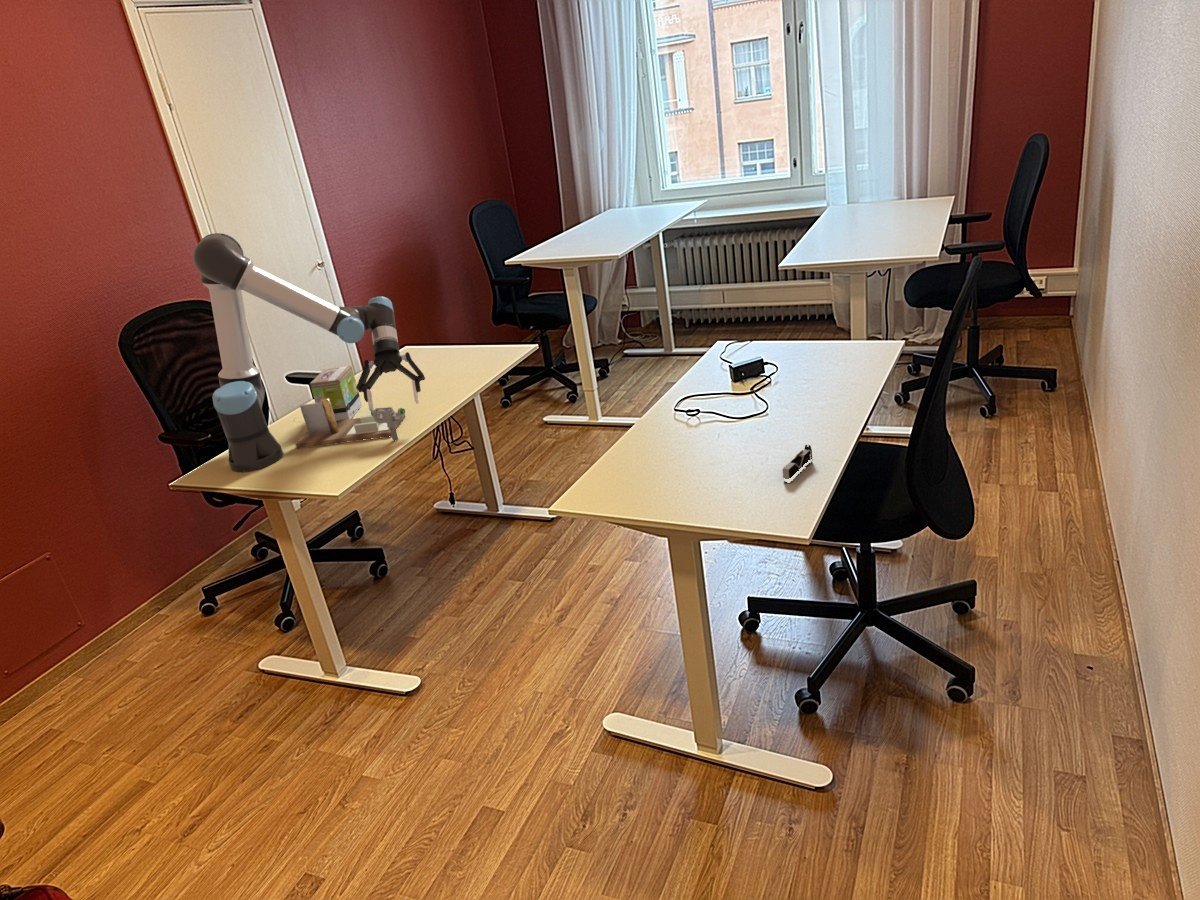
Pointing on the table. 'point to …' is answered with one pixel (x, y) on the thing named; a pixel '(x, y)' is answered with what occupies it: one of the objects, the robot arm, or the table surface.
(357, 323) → the robot arm
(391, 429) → the mechanical component
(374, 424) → the board
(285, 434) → the table surface
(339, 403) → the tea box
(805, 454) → the graphics card
